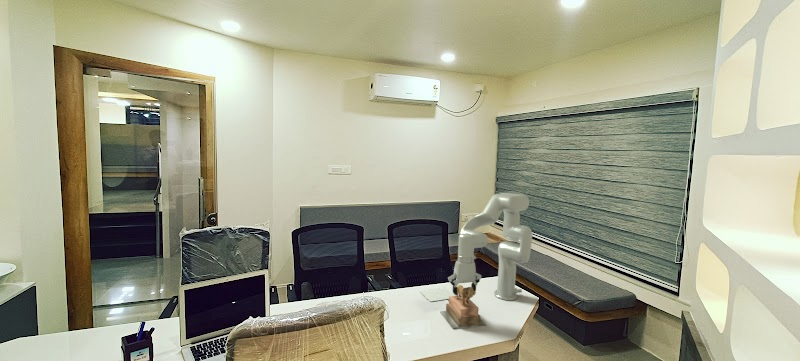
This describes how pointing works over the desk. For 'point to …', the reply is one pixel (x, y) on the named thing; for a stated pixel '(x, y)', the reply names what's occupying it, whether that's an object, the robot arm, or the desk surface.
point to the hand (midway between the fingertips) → (464, 293)
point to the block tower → (462, 313)
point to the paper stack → (437, 294)
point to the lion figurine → (465, 293)
